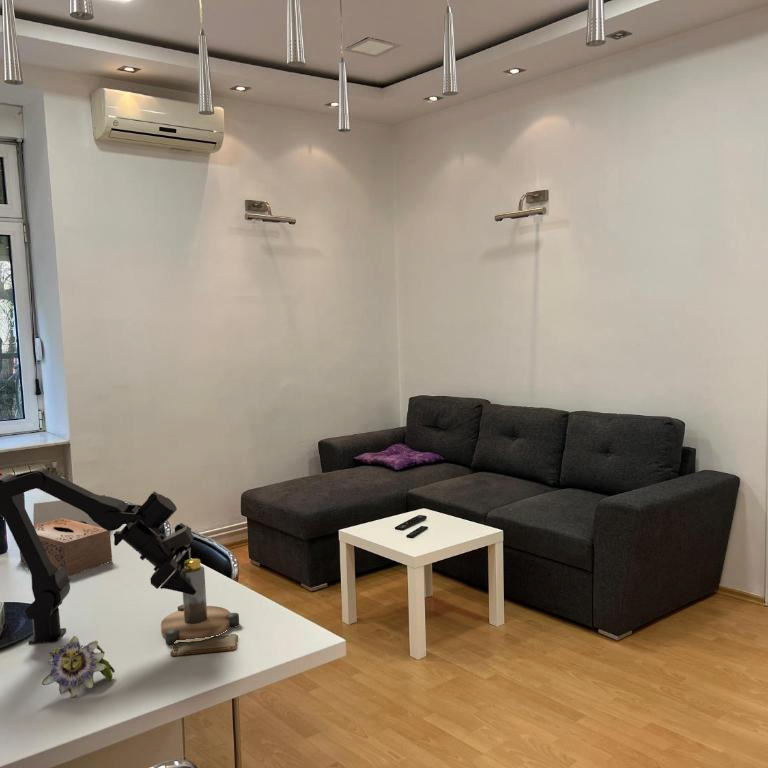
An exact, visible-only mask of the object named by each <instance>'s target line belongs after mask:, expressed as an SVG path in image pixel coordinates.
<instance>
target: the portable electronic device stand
mask: <svg viewBox="0 0 768 768" xmlns="http://www.w3.org/2000/svg"><path fill="white" fill-rule="evenodd" d="M100 495H101V494H100ZM101 496H106V495H105V494H104V495H101ZM32 514H33V518H32V519H33V525H37V524H41V523H44V522H48V521H52V520H56V519H60V518H65V519H69V520H73V521H77V522H81V523H85V524H89V525H93V526H97V527H101V526H99V525H98V524H96V523H95V522H94V521H93V520H92V519H91V518H90V517H89V516H88V515H87V514H86V513H85V512H83V511H82V510H80V509H78V508H76V507H74V506H72V505H70V504H68V503H66V502H64V501H62V500H60V499H58V500H53V501H52V500H51V501H43V502H42V501H41V502H36V503H33V513H32ZM101 528H102V527H101Z"/></svg>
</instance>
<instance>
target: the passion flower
mask: <svg viewBox="0 0 768 768" xmlns="http://www.w3.org/2000/svg"><path fill="white" fill-rule="evenodd" d="M80 643H81V642H80V640H79V638H78V636H76V635H73V636H72V637H71V639H70V641H69V643H67V644H66V645H63V648H61V647H55V648H54V649H53V652H52V651H51V650H49V651H48V654H49V655H50V656H51V657H52V658H51V659H49V660H48V661H47V664H48V665H50V666H51V669H50V670H49V671H50V672H49V674H48V675H46V677H45V678H43V680H42V681H41V685H43V686H47V685H51V684H53V683H57V684H58V685H59V686H58V690H59V694H60V695H62V694H63V695H64V694H65V693H67V692H69V694H70V696H71V698H76V697H77V695H78V694H79V691H80V686H85V688H87V689H92V688H93V687H94V684H95V683H94V682H95V681H94V673H96V672H100V673H101V674H102V675H103V677H104V678H105V680H107V681H108V682H112V680H113V674H114V673H115V668H114V667H113V666H112V665H111V664H110V662H109V661H108V660H106V659H105V658H104V657H105V651H104V649H103V648H101V646H100V644H99V642H98V640H94V641H91V642H89V643H88V644H86V645H84V646H83V644H80ZM96 649H97V650H98V651H99V652H96V651H95V650H96Z"/></svg>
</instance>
